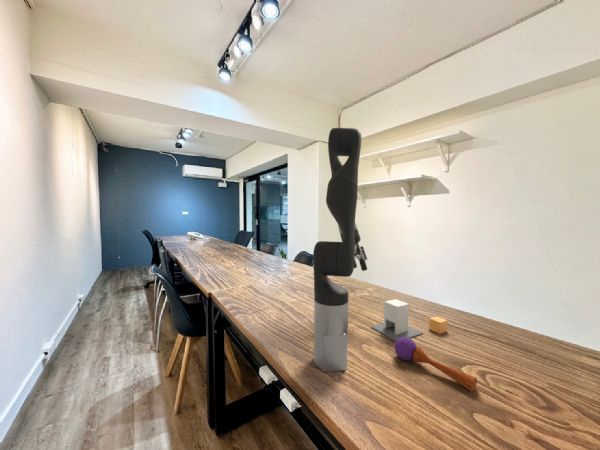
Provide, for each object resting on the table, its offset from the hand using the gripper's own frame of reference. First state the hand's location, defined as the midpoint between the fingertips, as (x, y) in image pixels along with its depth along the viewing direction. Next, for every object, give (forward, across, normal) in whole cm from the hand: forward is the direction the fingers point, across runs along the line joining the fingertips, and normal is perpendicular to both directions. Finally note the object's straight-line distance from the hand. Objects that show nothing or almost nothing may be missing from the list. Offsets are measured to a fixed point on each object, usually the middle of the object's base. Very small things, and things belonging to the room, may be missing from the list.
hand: (359, 269), depth 100 cm
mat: (+24, +3, -5) cm, 25 cm away
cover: (+23, +3, -5) cm, 24 cm away
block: (+26, +14, -16) cm, 34 cm away
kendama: (+35, -12, -17) cm, 41 cm away
